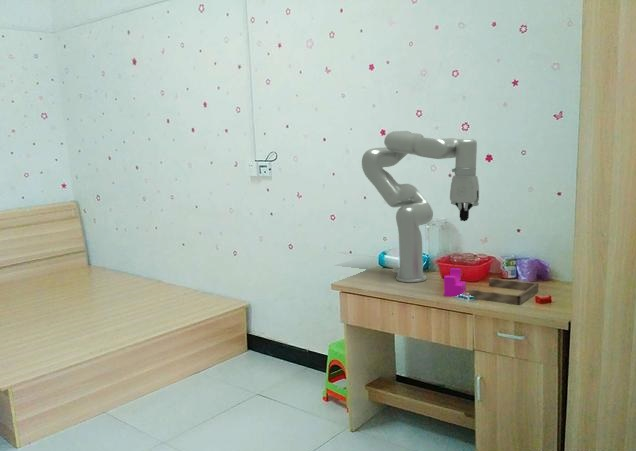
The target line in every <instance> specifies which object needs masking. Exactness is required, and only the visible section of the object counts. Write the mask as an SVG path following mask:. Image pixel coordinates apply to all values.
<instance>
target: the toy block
mask: <svg viewBox="0 0 636 451" xmlns="http://www.w3.org/2000/svg"><path fill="white" fill-rule="evenodd" d="M461 271H462V270H461V268H457V267H456V268H455V267H451V268H450V269H449V275H444V277H443V282H444V283H443V284H444V285H443V290H444V292H443V296H444V297H452V296H457V295H460V294H462V293H463V292H464V291H465V292H466V286H467V285H466V281H463V280H461V279H462V278H461V277H462V276H461V274H462V272H461ZM465 292H464V293H465ZM452 298H453V297H452Z"/></svg>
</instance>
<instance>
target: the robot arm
mask: <svg viewBox="0 0 636 451" xmlns="http://www.w3.org/2000/svg"><path fill="white" fill-rule="evenodd" d="M384 146H385V147H374V148H370V149H368V150H366V151H365V152H364V153H363V155H362V156H361V157H362V158H361V168H362V171H363V173H364V175H365V177H366V179H367V180H368V181H369V182H370V183H371V184H372V186H374V188H375V189H376V190H377V192H378V193H379V195H380V196H381V198H382V199H383V200H384V201H385V203H386V204H387V205H388V206H389V207H391V208H398V209H397V211H396V214H395V221H396V225H397V231H398V232H397V233H398V249H399V254H398V256H399V267H395V266H393V268H392V273H394V274H397V275H396V278H395V279H396V280H397V281H399V282H402V283H420V282H424V281H426V280H427V278H428V277H427V275H426V274H424V268H423V266H424V265H423V236H422V231H421V230H420V227H419V226H424V225H427V224H429V223H430V222H431V221H433V220H432V219H433V217H434V211H433V209H432V207H431V204H430V203H429V202H428V201H427V199H426V198H425V197H424V196H423V194H422V193H421V191H419V190H418V188H417V187H416V186H414V185H413V184H411V183H398V181H396V179H394V177H393V176H392V174H391V173H390V172H388V171H387V170H385V169H384V168H390V167H393V166H395V165H397V164H398V163H399V162H401V161H402V160H403V159H404V158H405V157H406V156H407V155H413V156H417V157H422V158H426V159H427V158H429V159H433V160H442V159H443V160H444V159H453V158H455V162H454V163H455V165H454V166H455V167H454V168H452V169H451V172H452V173H454V175H453V176H452V179H451V182H450V183H451V184H450V192H449V200H450V204H451V205H454V206H456V208H458V211H459V218H460V219H459V220H460V221H463V222H466V221H468V219H469V217H470V216H469V214H470V213H469V212H470V210H471V209H472V208H473V207H478V206H479V200H480V199H479V198H480V185H479V178H478V176H477V175H476V174H477V150H478V149H477V148H478V144H477V141H476V140H475V139H474V138H463V139H459V138H453V137H451V138H431V137H424V135H423V134H421V133H418V132H417V133H416V132H411V131H408V130H395V131H391V132H389V133H388V134H386V135H385V137H384Z"/></svg>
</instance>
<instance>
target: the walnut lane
mask: <svg viewBox="0 0 636 451" xmlns="http://www.w3.org/2000/svg"><path fill="white" fill-rule="evenodd" d="M492 286H493V287H494V288H501V289H502V288H503V289H511V290H520V291H523V292H521V293H520V294H519V295H517V294H509V293H501V292H495V291H486V290H479V289H471V288H470V289H469V290H468V296H469V295H471V296H474V297H475V298H476V299H475V300H482V301H487V302H488V301H489V302H494V303H504V304H511V305H515V306H516V305H517V306H521V305H522V304H524V303H525V302H527V301H528V300H529V299H531V298H532V297H533V296H534V295H535V294H537V293H538V292H539V283H537V282H528V281H520V280H519V281H518V280H509V279H501V278H494V277H493V278H492V277H489V278H488V287H492Z"/></svg>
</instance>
